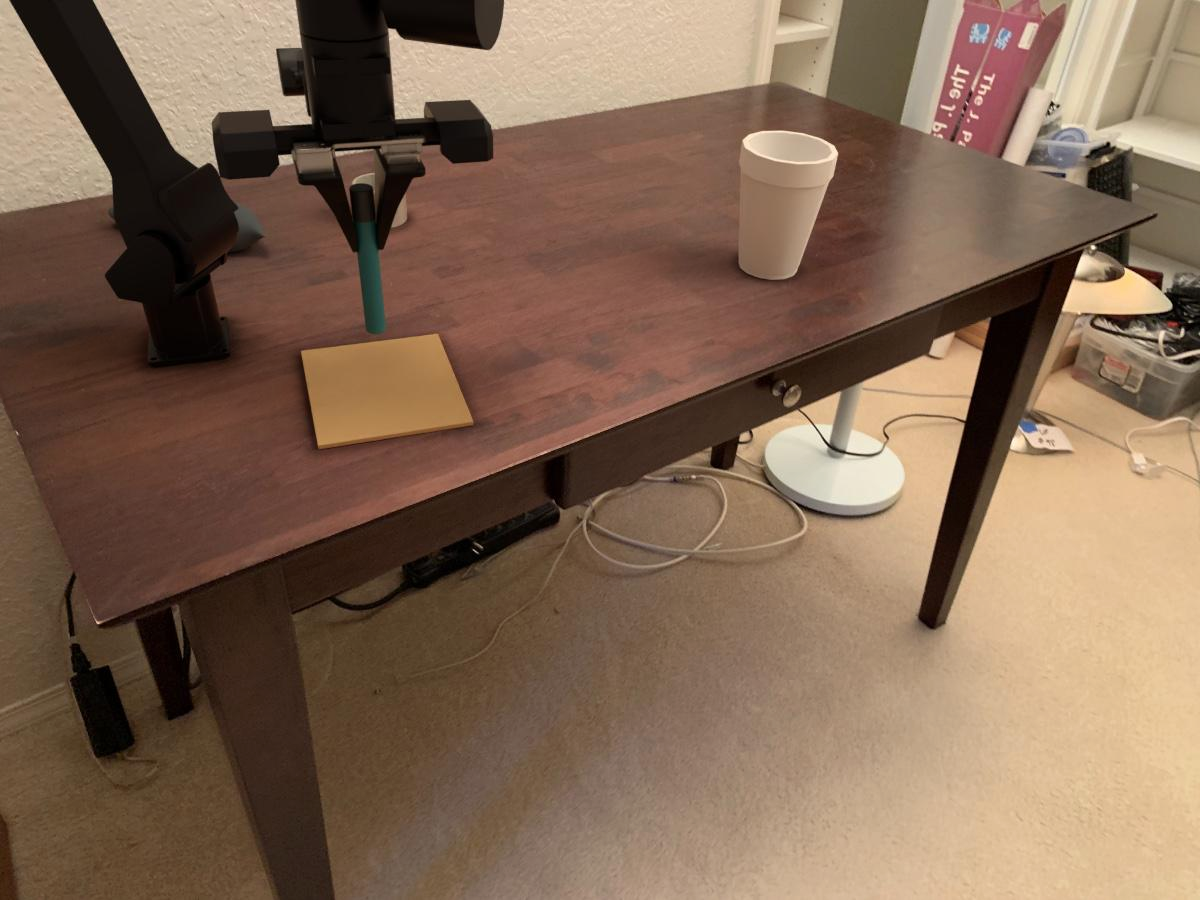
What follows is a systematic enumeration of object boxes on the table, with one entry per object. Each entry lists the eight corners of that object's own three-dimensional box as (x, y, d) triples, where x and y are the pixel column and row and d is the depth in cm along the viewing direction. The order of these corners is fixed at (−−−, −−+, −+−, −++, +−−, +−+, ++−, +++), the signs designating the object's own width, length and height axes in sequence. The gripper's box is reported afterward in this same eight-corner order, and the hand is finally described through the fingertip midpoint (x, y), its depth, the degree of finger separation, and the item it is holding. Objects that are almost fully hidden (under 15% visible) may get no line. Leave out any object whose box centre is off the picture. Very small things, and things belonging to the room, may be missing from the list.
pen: (388, 333, 74) (374, 190, 67) (367, 336, 73) (350, 192, 66) (384, 323, 75) (371, 182, 68) (363, 325, 75) (347, 183, 67)
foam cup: (741, 240, 104) (760, 124, 96) (821, 259, 101) (847, 142, 93) (712, 272, 97) (729, 151, 89) (796, 295, 94) (822, 171, 86)
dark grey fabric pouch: (89, 237, 95) (75, 190, 92) (119, 218, 99) (107, 173, 96) (264, 267, 92) (256, 220, 89) (288, 246, 96) (281, 201, 93)
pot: (411, 229, 101) (408, 190, 98) (360, 233, 99) (356, 194, 97) (402, 209, 105) (399, 171, 102) (353, 213, 103) (349, 174, 101)
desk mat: (473, 425, 73) (473, 421, 73) (318, 449, 70) (317, 445, 69) (438, 337, 83) (437, 333, 83) (301, 354, 80) (300, 350, 80)
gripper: (456, 0, 69) (463, 198, 79) (191, 4, 64) (233, 216, 73) (493, 39, 61) (496, 254, 71) (193, 48, 55) (240, 280, 65)
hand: (367, 249), depth 70 cm, fingers closed on pen, 1 cm apart
